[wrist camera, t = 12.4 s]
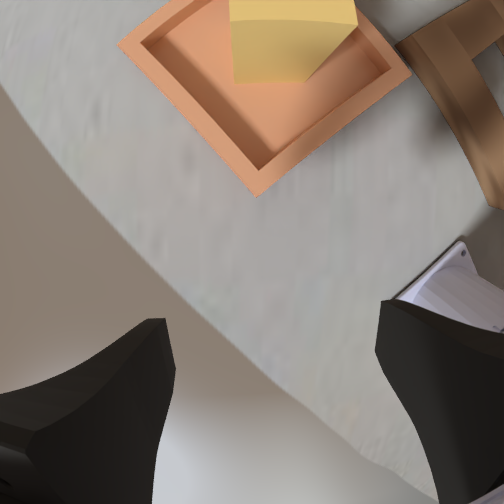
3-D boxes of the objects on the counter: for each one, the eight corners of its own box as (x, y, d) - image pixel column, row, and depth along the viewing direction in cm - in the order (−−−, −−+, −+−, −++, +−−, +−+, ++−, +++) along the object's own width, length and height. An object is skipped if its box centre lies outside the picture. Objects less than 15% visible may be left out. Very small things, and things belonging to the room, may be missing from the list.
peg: (298, 23, 15) (340, -60, 7) (304, 82, 16) (357, 25, 8) (230, 24, 15) (225, -65, 7) (234, 84, 16) (229, 21, 8)
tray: (394, 82, 17) (412, 74, 15) (254, 192, 19) (256, 197, 17) (274, -43, 14) (278, -62, 12) (129, 56, 16) (116, 44, 14)
